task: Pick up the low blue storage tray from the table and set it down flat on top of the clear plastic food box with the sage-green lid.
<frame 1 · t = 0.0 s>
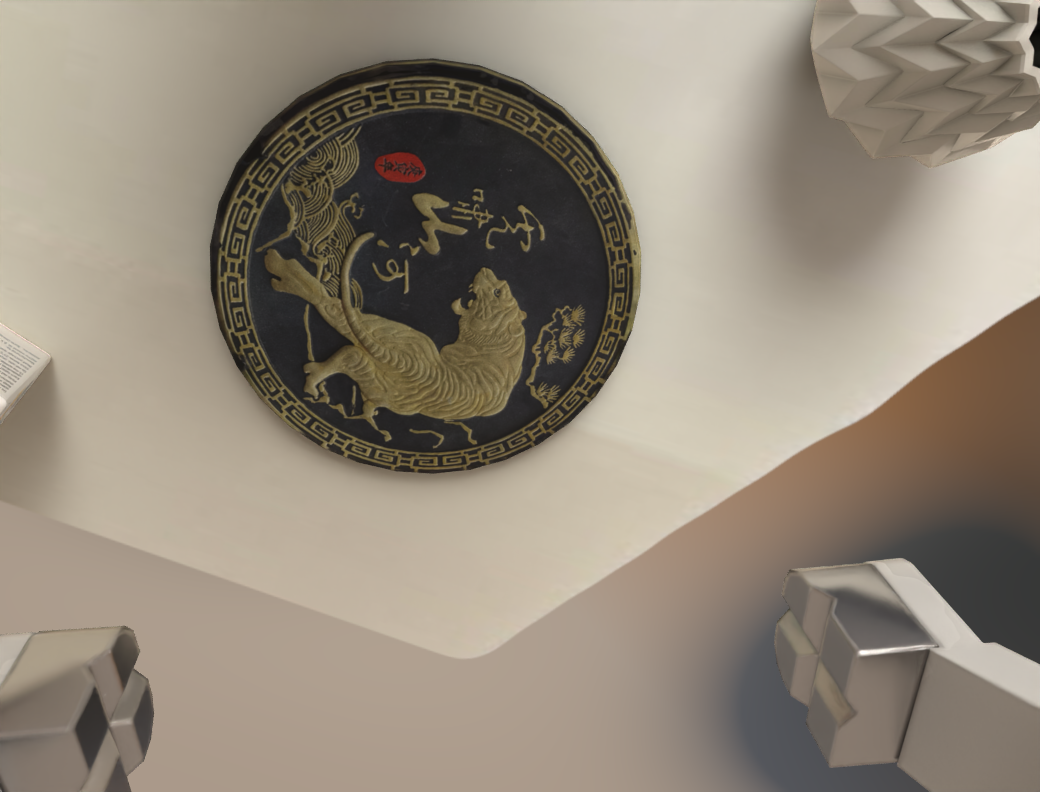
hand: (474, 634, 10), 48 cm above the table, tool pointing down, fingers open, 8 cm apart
decorative plate: (432, 283, 58), on the table
vase: (874, 17, 54), on the table
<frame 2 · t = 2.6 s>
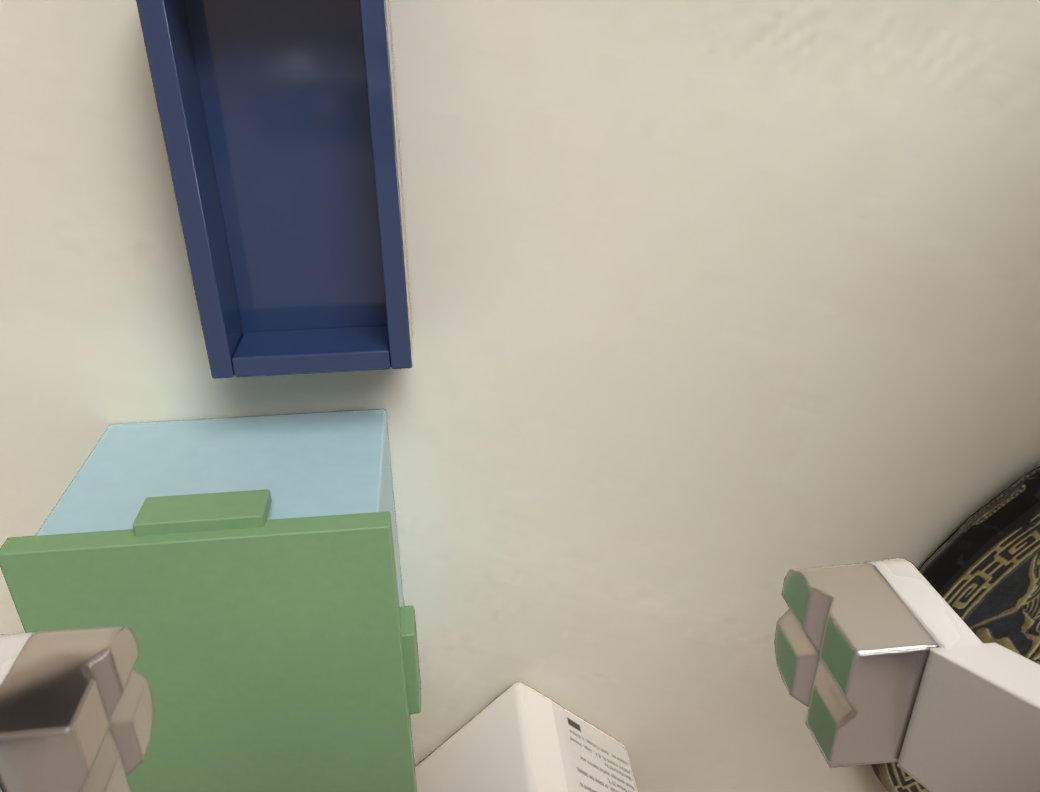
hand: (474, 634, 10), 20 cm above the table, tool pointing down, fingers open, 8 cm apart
food box: (273, 544, 33), on the table
container: (519, 751, 41), on the table
low blue storage tray: (300, 166, 26), on the table
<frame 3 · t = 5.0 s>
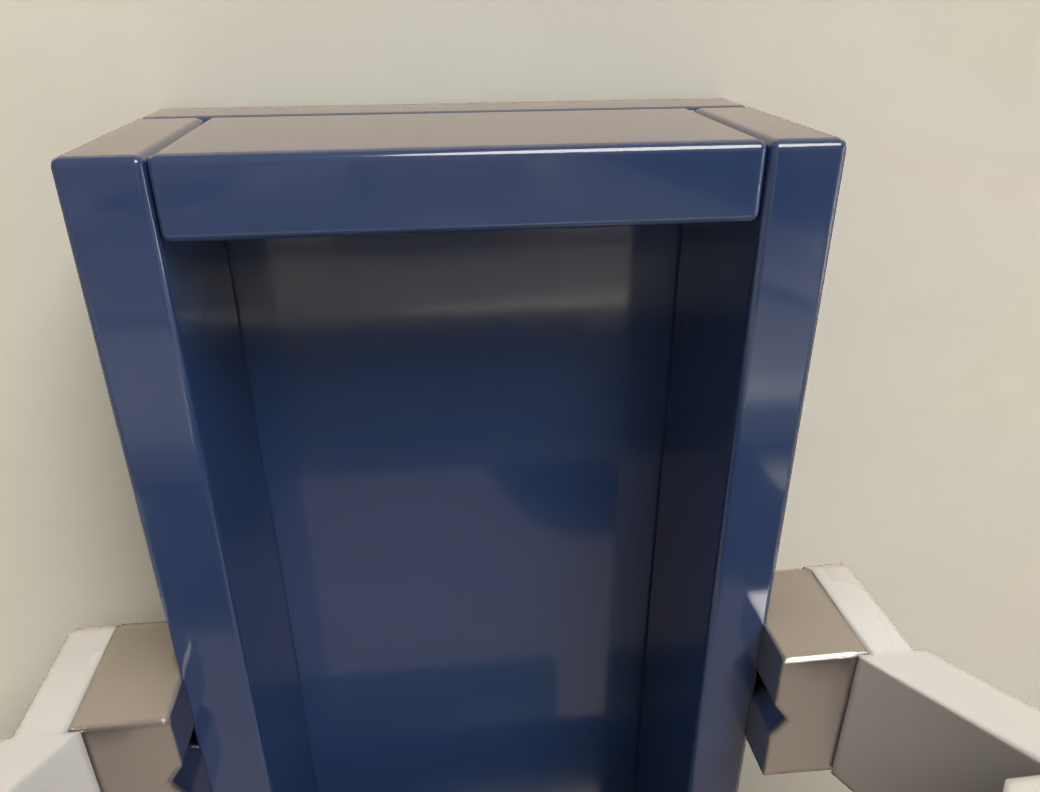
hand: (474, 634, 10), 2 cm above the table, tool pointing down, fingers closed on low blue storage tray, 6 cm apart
low blue storage tray: (469, 539, 12), on the table, touching gripper
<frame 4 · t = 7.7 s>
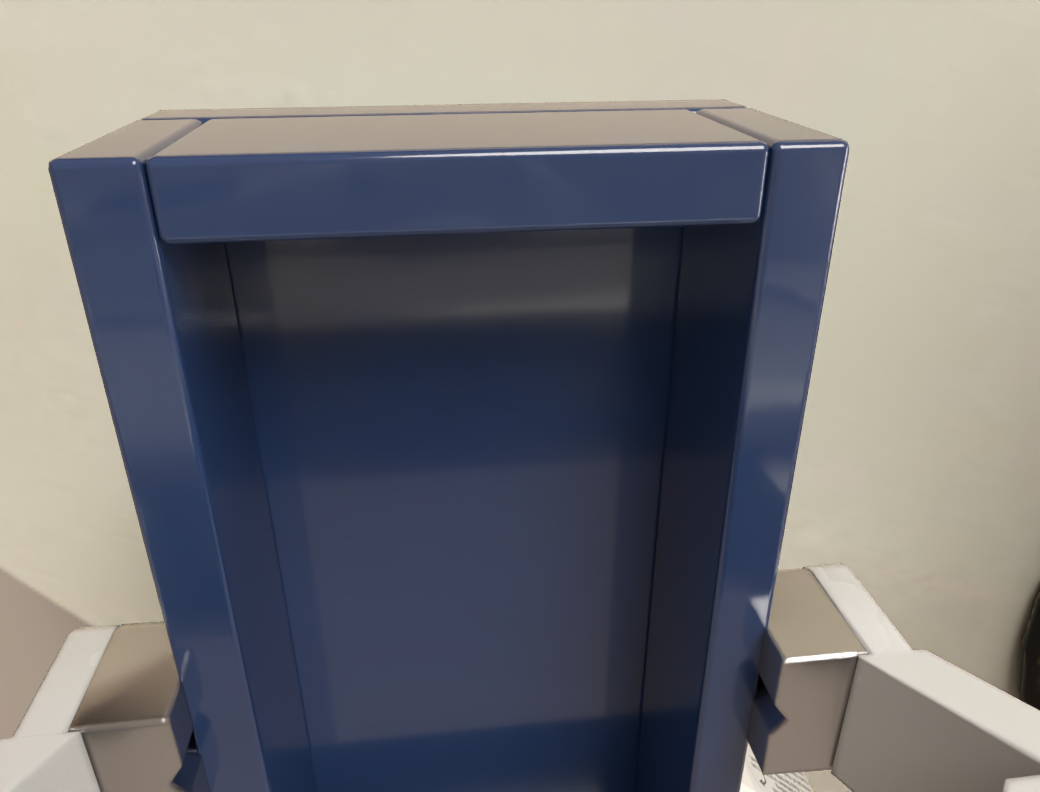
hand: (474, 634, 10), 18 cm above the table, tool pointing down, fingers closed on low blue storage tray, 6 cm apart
container: (651, 707, 37), on the table
low blue storage tray: (469, 542, 12), point 16 cm above the table, touching gripper
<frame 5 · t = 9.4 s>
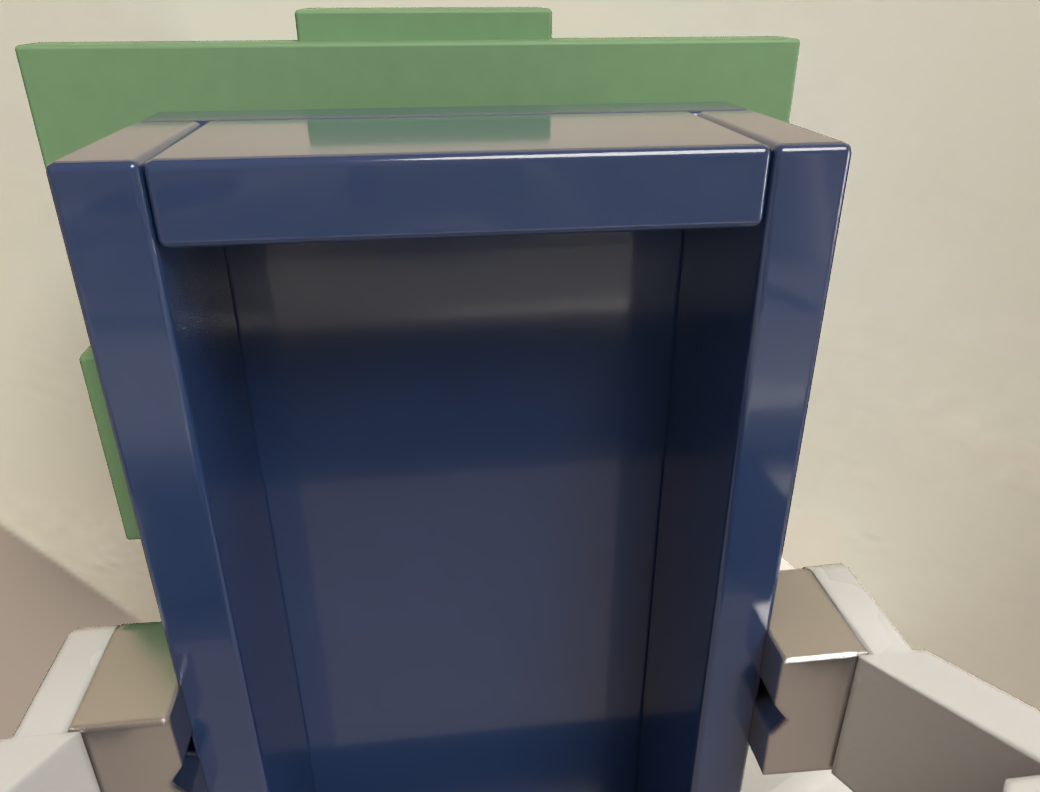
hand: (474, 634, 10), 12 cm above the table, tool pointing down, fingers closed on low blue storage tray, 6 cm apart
food box: (434, 292, 21), on the table
container: (738, 657, 29), on the table
low blue storage tray: (469, 545, 12), point 11 cm above the table, touching gripper
when the fingers open (9 cm above the table, at t = 10.8 s): low blue storage tray stays where it is, resting on food box.
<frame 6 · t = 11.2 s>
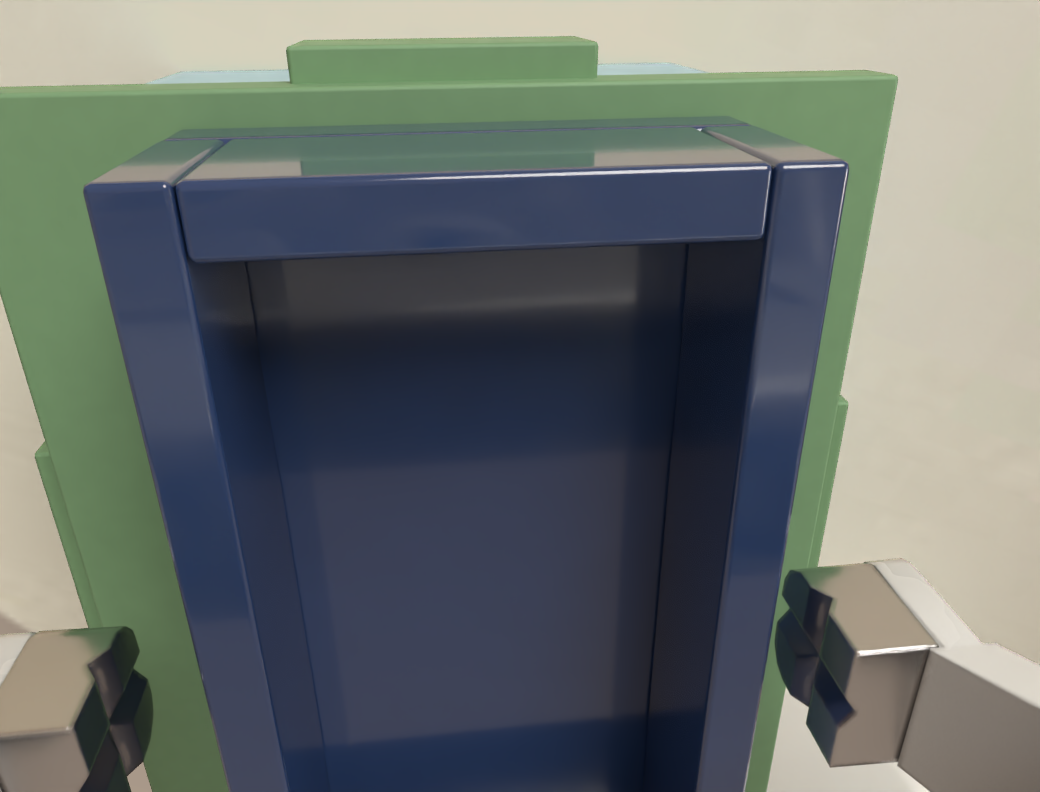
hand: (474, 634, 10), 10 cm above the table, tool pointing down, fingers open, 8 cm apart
food box: (447, 341, 19), on the table
container: (775, 721, 27), on the table
low blue storage tray: (479, 546, 12), point 8 cm above the table, touching food box
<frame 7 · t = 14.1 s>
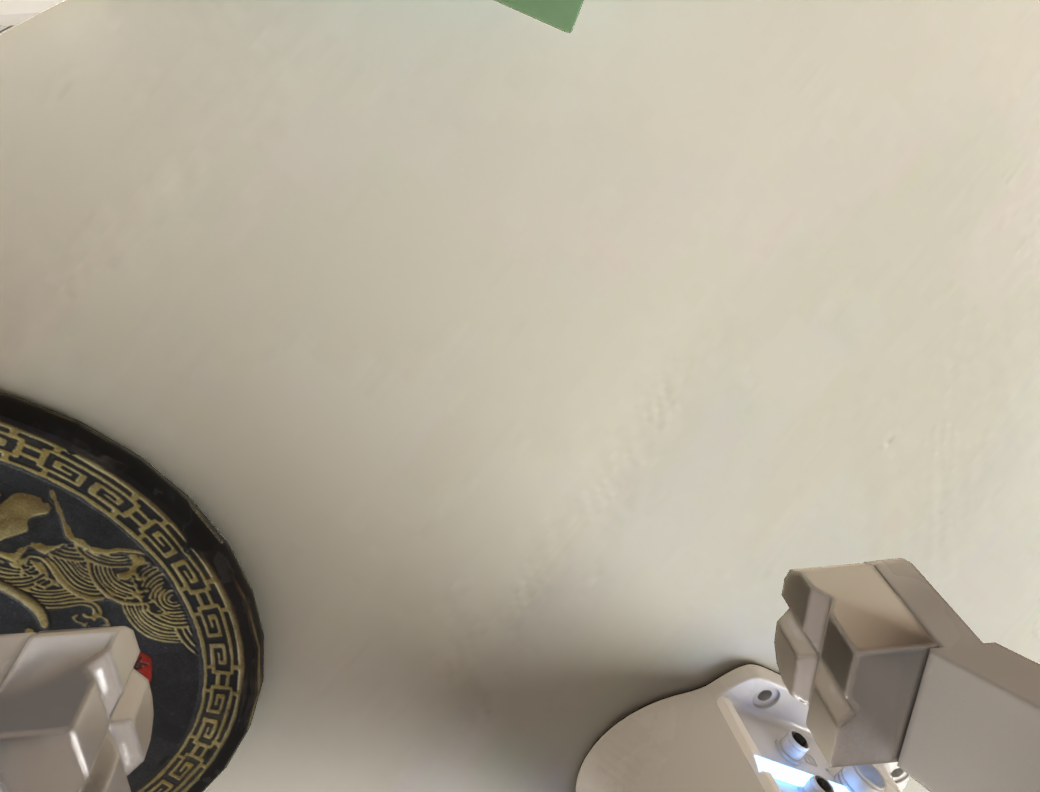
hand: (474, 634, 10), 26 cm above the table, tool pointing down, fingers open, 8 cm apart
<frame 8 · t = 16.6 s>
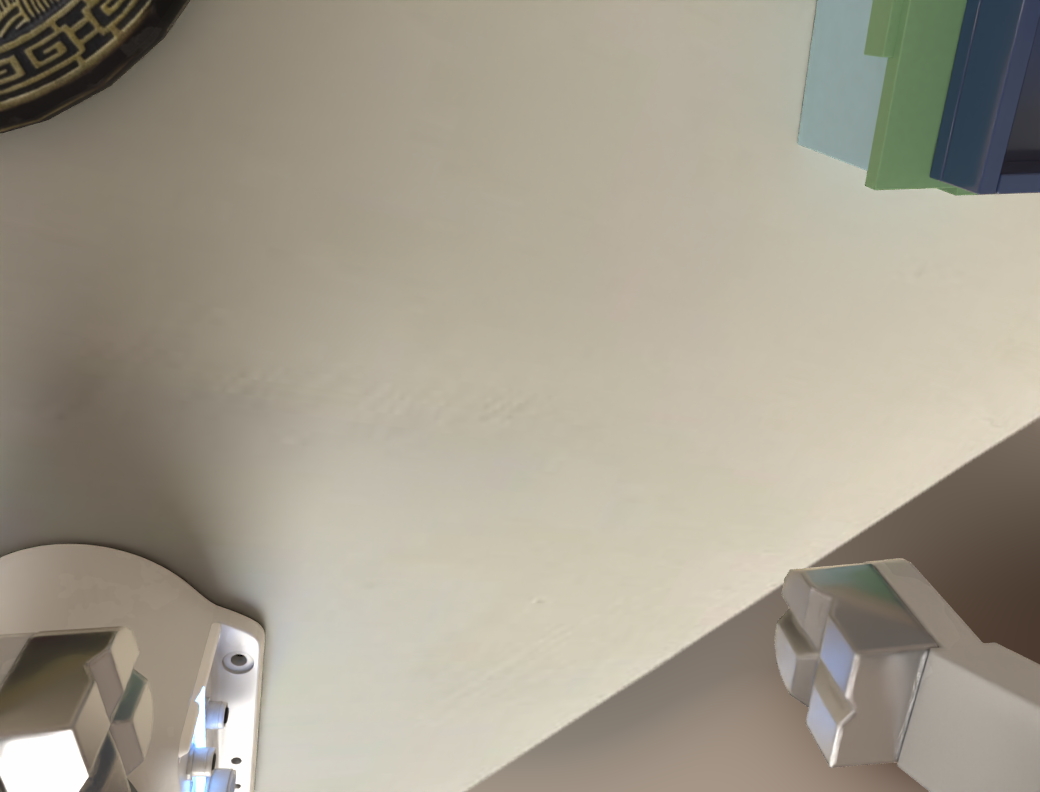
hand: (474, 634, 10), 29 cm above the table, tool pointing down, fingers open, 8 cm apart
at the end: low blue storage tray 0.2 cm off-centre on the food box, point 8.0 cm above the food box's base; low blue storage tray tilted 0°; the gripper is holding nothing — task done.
